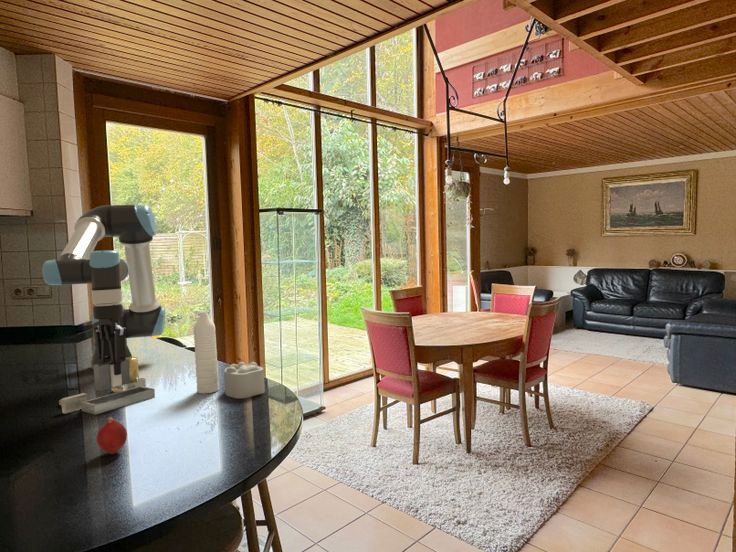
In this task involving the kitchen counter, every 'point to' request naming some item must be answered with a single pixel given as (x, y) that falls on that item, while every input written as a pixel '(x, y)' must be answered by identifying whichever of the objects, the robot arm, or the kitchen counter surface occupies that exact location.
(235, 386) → the lumpy-topped squat cylinder
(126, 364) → the lock bar
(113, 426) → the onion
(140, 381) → the door board
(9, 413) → the kitchen counter surface
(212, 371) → the water bottle
